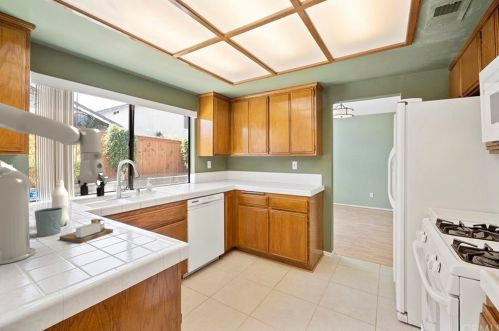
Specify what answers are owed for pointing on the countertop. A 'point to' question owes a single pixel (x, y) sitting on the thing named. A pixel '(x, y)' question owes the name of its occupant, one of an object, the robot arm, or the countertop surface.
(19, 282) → the countertop surface
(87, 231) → the latch bar
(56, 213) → the green plant pot
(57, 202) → the water bottle
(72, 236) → the lock base
